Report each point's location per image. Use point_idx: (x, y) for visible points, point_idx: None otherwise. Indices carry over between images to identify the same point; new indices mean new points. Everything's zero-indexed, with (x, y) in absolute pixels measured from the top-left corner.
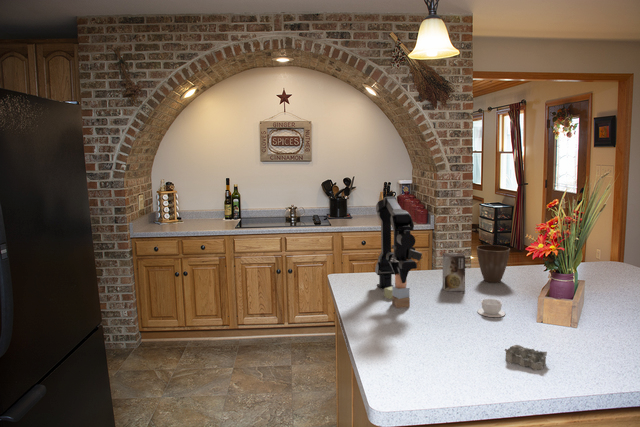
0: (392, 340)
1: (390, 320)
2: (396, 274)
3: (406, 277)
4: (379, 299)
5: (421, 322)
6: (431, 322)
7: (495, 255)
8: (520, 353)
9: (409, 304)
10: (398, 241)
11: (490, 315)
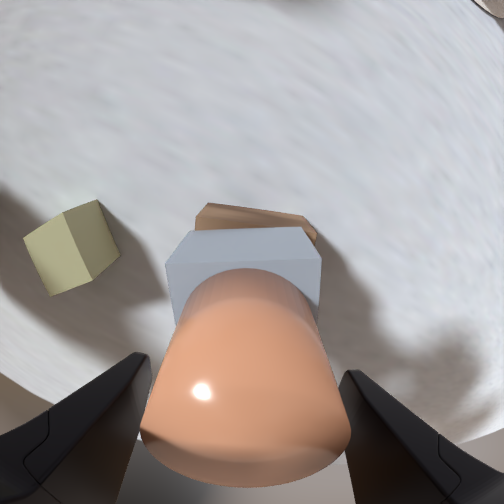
0: (481, 392)
1: (401, 375)
2: (199, 473)
3: (414, 418)
4: (113, 315)
5: (481, 275)
6: (498, 238)
7: None
8: None
9: (305, 221)
10: None
11: (496, 2)
